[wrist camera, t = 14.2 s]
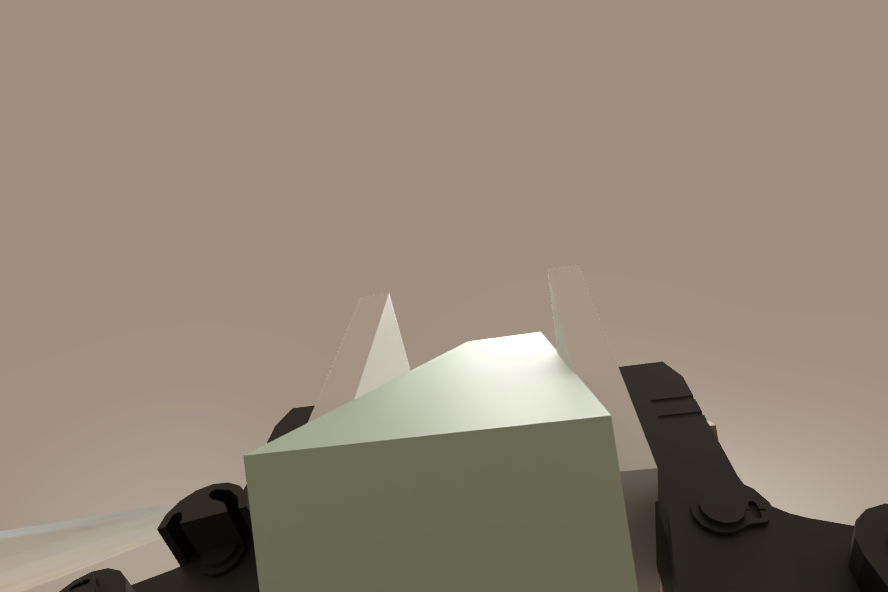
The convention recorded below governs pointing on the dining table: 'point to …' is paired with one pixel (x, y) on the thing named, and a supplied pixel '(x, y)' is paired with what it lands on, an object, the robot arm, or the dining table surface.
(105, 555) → the dining table surface
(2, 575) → the dining table surface
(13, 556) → the dining table surface
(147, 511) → the dining table surface
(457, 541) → the green block
